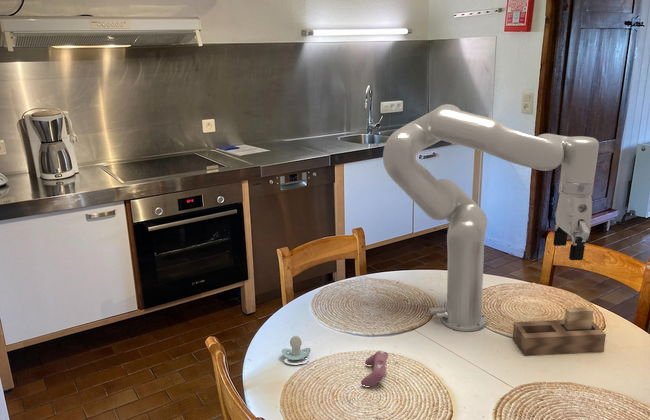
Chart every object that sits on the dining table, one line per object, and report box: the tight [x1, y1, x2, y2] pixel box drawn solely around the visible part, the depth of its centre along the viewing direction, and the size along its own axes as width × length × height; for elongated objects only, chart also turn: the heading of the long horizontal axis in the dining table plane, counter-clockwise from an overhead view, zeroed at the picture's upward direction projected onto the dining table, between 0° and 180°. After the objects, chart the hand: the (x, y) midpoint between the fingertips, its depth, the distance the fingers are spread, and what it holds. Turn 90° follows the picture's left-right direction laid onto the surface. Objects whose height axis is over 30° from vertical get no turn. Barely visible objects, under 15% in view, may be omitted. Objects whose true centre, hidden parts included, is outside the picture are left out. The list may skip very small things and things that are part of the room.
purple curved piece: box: [360, 350, 389, 387], centre depth 125 cm, size 10×5×7 cm, turn 169°
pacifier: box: [281, 335, 312, 363], centre depth 133 cm, size 7×6×6 cm
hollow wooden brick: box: [512, 319, 607, 357], centre depth 134 cm, size 20×8×5 cm, turn 91°
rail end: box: [564, 306, 594, 331], centre depth 134 cm, size 6×2×10 cm, turn 90°
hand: (567, 252), depth 134 cm, fingers open, 9 cm apart
